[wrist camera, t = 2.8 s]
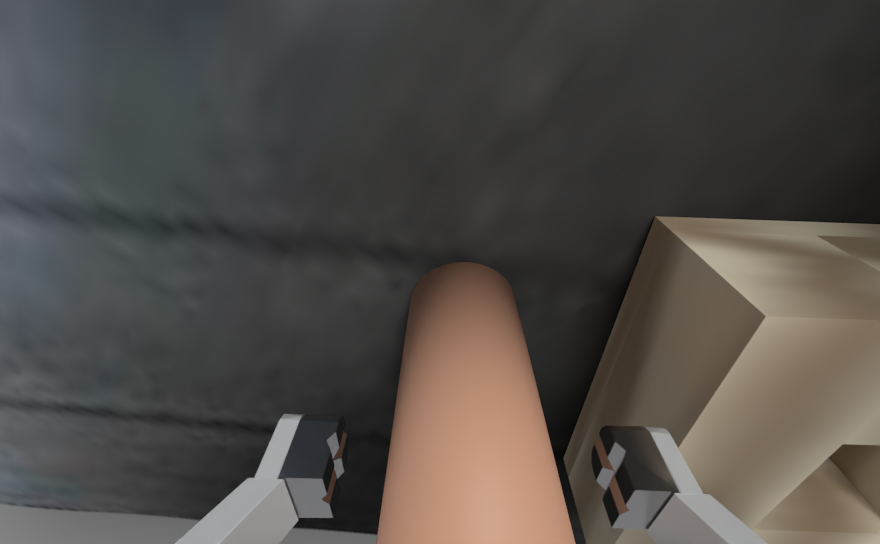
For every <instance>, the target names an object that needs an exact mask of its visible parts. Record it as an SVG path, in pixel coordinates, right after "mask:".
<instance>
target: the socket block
mask: <svg viewBox="0 0 880 544" xmlns="http://www.w3.org/2000/svg"><path fill="white" fill-rule="evenodd" d="M605 425H606V426H642V427H662V428H665V429H666V430H667V431H668V432H669V433H670V435H671V436H672V438H673V440H674V442H675V444H676V445H677V447H678V449H679V451H680V453H681V454H682V456H683V458H684V460H685V462H686V463H687V465H688V467H689V469H690V471H691V472H692V474H693V476H694V478H695V479H696V481H697V483H698V485H699V487H700V488H701V490H702V492H703V494H710V495H711V496H712V497H714V498H715V499H716V500H717V501H718V502H719V503H721V504H722V505H723V506H724V507H725V508H726V509H728V510H729V511H730V512H731V513H732V514H733V515H735V516H736V517H737V518H738V519H739V520H740V521H742V522H743V523H744V524H745V525H746V526H748V527H749V528H750V529H751V530H752V531H753V532H755V533H756V534H757V535H758V536H759V537H760V538H762V539H763V540H764V541H765V542H766V543H767V544H880V224H857V223H829V222H801V221H772V220H744V219H715V218H687V217H658V216H655V218H654V221H653V224H652V226H651V229H650V232H649V234H648V237H647V239H646V242H645V245H644V247H643V250H642V253H641V255H640V258H639V260H638V263H637V266H636V268H635V271H634V274H633V276H632V279H631V282H630V284H629V287H628V289H627V292H626V295H625V297H624V300H623V303H622V305H621V308H620V310H619V313H618V316H617V318H616V321H615V324H614V326H613V329H612V332H611V334H610V337H609V339H608V342H607V345H606V347H605V350H604V353H603V355H602V358H601V360H600V363H599V366H598V368H597V371H596V374H595V376H594V379H593V382H592V384H591V387H590V389H589V392H588V395H587V397H586V400H585V403H584V405H583V408H582V410H581V413H580V416H579V418H578V421H577V424H576V426H575V429H574V432H573V434H572V437H571V439H570V442H569V445H568V447H567V450H566V453H565V455H564V458H563V459H564V463H565V466H566V470H567V474H568V478H569V481H570V485H571V489H572V492H573V496H574V500H575V504H576V507H577V511H578V515H579V518H580V522H581V526H582V529H583V533H584V537H585V541H586V544H655V542H654V541H653V540H652V539H651V538H650V536H649V535H648V534H647V533H646V531H647V530H636V529H621V528H612V527H611V524H610V521H609V518H608V515H607V512H606V509H605V506H604V503H603V500H602V498H603V495H604V492H605V489H604V488H603V487H602V486H601V485H600V484H599V483H598V482H597V481H596V479H595V476H594V472H593V468H592V463H591V451H592V449H593V446H594V443H596V442H598V441H599V440H601V438H600V435H599V432H600V430H601V428H602V427H603V426H605Z"/></svg>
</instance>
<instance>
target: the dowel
mask: <svg viewBox="0 0 880 544" xmlns="http://www.w3.org/2000/svg"><path fill="white" fill-rule="evenodd" d="M376 544H575V540H574V536H573V532H572V528H571V524H570V520H569V516H568V512H567V508H566V503H565V499H564V495H563V491H562V487H561V483H560V479H559V475H558V471H557V467H556V463H555V459H554V455H553V451H552V447H551V443H550V439H549V435H548V431H547V426H546V422H545V418H544V414H543V410H542V406H541V402H540V398H539V394H538V390H537V386H536V382H535V378H534V374H533V370H532V366H531V362H530V358H529V354H528V349H527V345H526V341H525V337H524V333H523V329H522V325H521V321H520V317H519V313H518V309H517V305H516V301H515V297H514V293H513V290H512V288H511V286H510V284H509V283H508V281H507V280H506V279H505V278H504V277H503V276H502V275H501V274H499V273H498V272H497V271H495V270H493V269H491V268H489V267H487V266H484V265H481V264H477V263H470V262H457V263H450V264H446V265H443V266H440V267H437V268H436V269H434V270H432V271H430V272H429V273H427V274H426V275H425V276H424V277H422V278H421V279H420V281H419V282H418V283H417V284H416V286H415V288H414V290H413V292H412V295H411V300H410V307H409V314H408V321H407V328H406V335H405V342H404V349H403V357H402V364H401V371H400V378H399V385H398V392H397V399H396V406H395V414H394V421H393V428H392V435H391V442H390V449H389V456H388V463H387V471H386V478H385V485H384V492H383V499H382V506H381V513H380V520H379V528H378V535H377V542H376Z"/></svg>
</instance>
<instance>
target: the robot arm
mask: <svg viewBox="0 0 880 544" xmlns="http://www.w3.org/2000/svg"><path fill="white" fill-rule="evenodd" d="M344 427H345V421H344V417H343V416H321V415H305V414H284V415H283V416H282V417H281V419H280V420H279V422H278V424H277V426H276V429H275V431H274V433H273V435H272V438H271V440H270V442H269V445H268V447H267V449H266V452H265V454H264V456H263V458H262V461H261V463H260V465H259V468H258V470H257V472H256V474H255V477H254V478H247V479H246V480H245V481H244V482H243V483H242V484H240V485H239V486H238V487H237V488H236V489H235V490H234V491H233V492H232V493H230V494H229V495H228V496H227V497H226V498H225V499H224V500H223V501H221V502H220V503H219V504H218V505H217V506H216V507H215V508H214V509H213V510H211V511H210V512H209V513H208V514H207V515H206V516H205V517H204V518H203V519H201V520H200V521H199V522H198V523H197V524H196V525H195V526H194V527H193V528H191V529H190V530H189V531H188V532H187V533H186V534H185V535H184V536H183V537H181V538H180V539H179V540H178V541H177V542H176V543H175V544H280V543H281V542H282V540H283V539H284V538H285V536H286V535H287V534H288V533H289V532H290V530H291V529H292V528H293V527H294V525H295V524H296V523H297V522H298V518H333V516H334V511H335V507H336V503H337V499H338V495H339V491H340V489H339V484H338V478H339V477H340V475H341V474H342V473H343V472H344V470H345V465H346V461H347V453H348V438H347V434H346V433H344V432H343V431H344ZM599 435H600V438H601V440H599V441H598V442H596V443H594V446H593V449H592V451H591V463H592V468H593V472H594V476H595V479H596V481H597V482H598V483H599V484H600V485H601V486H602V487H603V488H604V489H605V492H604V495H603V498H602V500H603V503H604V506H605V509H606V512H607V515H608V518H609V521H610V524H611V527H612V528H621V529H636V530H647V531H646V533H647V534H648V535H649V536H650V538H651V539H652V540H653V541H654V542H655V544H767V543H766V542H765V541H764V540H763V539H762V538H760V537H759V536H758V535H757V534H756V533H755V532H753V531H752V530H751V529H750V528H749V527H748V526H746V525H745V524H744V523H743V522H742V521H740V520H739V519H738V518H737V517H736V516H735V515H733V514H732V513H731V512H730V511H729V510H728V509H726V508H725V507H724V506H723V505H722V504H721V503H719V502H718V501H717V500H716V499H715V498H714V497H712V496H711V495H710V494H703V492H702V490H701V488H700V487H699V485H698V483H697V481H696V479H695V478H694V476H693V474H692V472H691V471H690V469H689V467H688V465H687V463H686V462H685V460H684V458H683V456H682V454H681V453H680V451H679V449H678V447H677V445H676V444H675V442H674V440H673V438H672V436H671V435H670V433H669V432H668V431H667V430H666V429H665V428H662V427H642V426H606V425H605V426H603V427H602V428H601V430H600V432H599Z"/></svg>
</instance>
